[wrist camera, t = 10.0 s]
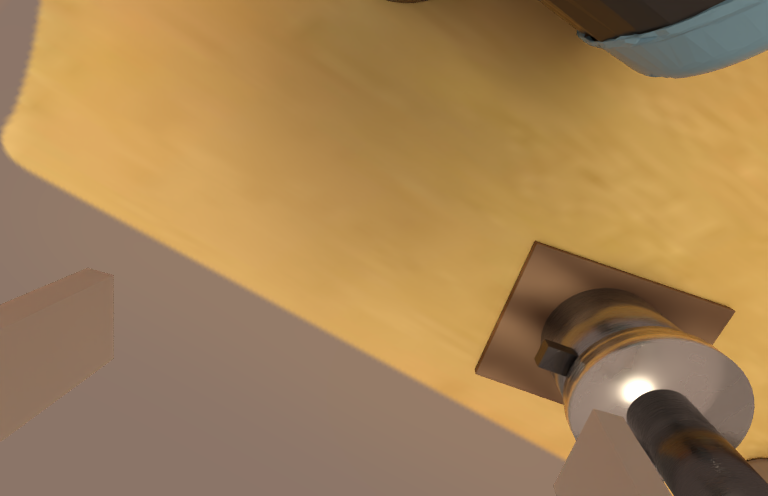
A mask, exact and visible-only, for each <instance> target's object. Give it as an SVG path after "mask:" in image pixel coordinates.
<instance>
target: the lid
mask: <svg viewBox="0 0 768 496" xmlns="http://www.w3.org/2000/svg"><path fill="white" fill-rule="evenodd" d="M564 409H565V415H566V419H567V421H568V424H569V426H570V429H571V431H572V433H573V435H574V437H575V439H576V441H577V439H578V437H579V435H580V433H581V431H582V429H583V427H584V425H585V423H586V421H587V419H588V417H589V415H590V413H591V411H592V409H596V410H600V411H604V412H607V413H611V414H614V415H618V416H622V417H623V418H624V420H625V421H626V423H627V424H628V426H629V428H630V429H631V431H632V432H633V434H634V436H635V437H636V439H637V440H638V442H639V444H640V445H641V447H642V448H643V450H644V452H645V453H646V455H647V456H648V458H649V460H650V461H651V463H652V464H653V466H654V468H655V469H656V471H657V472H658V474H659V476H660V477H661V479H662V480H663V481H665V483H666V484H667V486H668V487H669V489H670V490H671V492H672V493H673V495H674V496H768V483H767V482H766V481H765V480H764V479H763V478H762V477H761V476H760V475H759V474H758V473H757V472H756V471H755V470H754V469H753V467H752V466H751V465H750V464H749V463H748V462H747V461H746V460H745V459H744V458H743V457H742V456H741V455H740V454H739V453H738V452H737V450H736V447H737V446H738V445H739V444H740V443H741V441H742V440H743V439H744V437H745V436H746V434H747V432H748V430H749V428H750V425H751V422H752V419H753V414H754V396H753V391H752V388H751V385H750V383H749V381H748V379H747V377H746V376H745V374H744V373H743V371H742V370H741V369H740V368H739V367H738V366H737V365H736V363H734V362H733V361H732V360H730V359H729V358H728V357H727V356H725V355H724V354H723V353H722V352H720V351H719V350H718V349H716V348H715V347H714V346H713V345H711V344H710V343H708V342H706V341H704V340H703V339H701V338H698V337H696V336H694V335H691V334H687V333H684V332H680V331H673V330H661V329H655V330H643V331H637V332H632V333H629V334H625V335H622V336H619V337H617V338H614V339H612V340H610V341H608V342H606V343H604V344H603V345H601V346H599V347H598V348H596V349H595V350H594V351H592V352H591V353H590V354H589V355H588V356H586V357H585V358H584V359H583V360H582V362H581V363H580V364H579V365H578V366H577V368H576V369H575V371H574V372H573V374H572V375H571V378H570V380H569V382H568V384H567V388H566V391H565V397H564Z"/></svg>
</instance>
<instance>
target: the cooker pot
mask: <svg viewBox="0 0 768 496" xmlns="http://www.w3.org/2000/svg"><path fill="white" fill-rule="evenodd" d="M655 329H661V330H673V331H680V332H683V331H681V330H680V329H679V328H678V327H677V326H675V325H674V324H673V323H672V322H670V321H669V320H668V319H667V318H665V317H664V316H663V315H662V314H661V313H659V312H658V311H657V310H656V309H654V308H653V307H652V306H651V305H649V304H648V303H647V302H646V301H644V300H643V299H642V298H640V297H639V296H637V295H635V294H633V293H630V292H628V291H625V290H621V289H615V288H597V289H591V290H587V291H584V292H580V293H578V294H576V295H574V296H572V297H570V298H568V299H566V300H565V301H564V302H562V303H561V304H560V305H559V306H558V307H557V308H556V309H554V311H553V312H552V313H551V314H550V316H549V317H548V319H547V321H546V322H545V325H544V327H543V330H542V334H541V346H540V348H539V350H538V352H537V354H536V356H535V358H534V359H535V362H536V364H537V366H538V367H539V368H542V369H545V370H548V371H550V373H551V375H552V377H553V379H554V381H555V383H556V385H557V387H558V389H559V391H560V393H561V395H562V397H563V403H564V397H565V391H566V388H567V384H568V382H569V380H570V378H571V375H572V374H573V372H574V371H575V369H576V368H577V366H578V365H579V364H580V363H581V362H582V360H583V359H584V358H585V357H586V356H588V355H589V354H590V353H591V352H592V351H594V350H595V349H596V348H598V347H599V346H601V345H603V344H604V343H606V342H608V341H610V340H612V339H614V338H617V337H619V336H622V335H625V334H629V333H632V332H637V331H643V330H655ZM684 333H685V332H684ZM687 334H688V333H687Z"/></svg>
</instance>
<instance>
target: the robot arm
mask: <svg viewBox="0 0 768 496" xmlns="http://www.w3.org/2000/svg"><path fill="white" fill-rule="evenodd" d="M388 1H392V2H400V3H414V2H422V1H426V0H388ZM539 1H540V2H541V3H543V4H544V5H545V6H547V7H548V8H549V9H551V10H552V11H553V12H554V13H556V14H557V15H558V16H560V17H561V18H562V19H564V20H565V21H566V22H567V23H569V24H570V25H571V26H573V27H574V28H575V29H577V35H578V37H579V38H580V39H582V40H583V41H584V42H585V43H587V44H588V45H591V46H595V47H598V48H603V49H604V50H606V51H607V52H608V53H610V54H611V55H613V56H614V57H616V58H617V59H619V60H620V61H622V62H623V63H624V64H626V65H627V66H629V67H630V68H632V69H633V70H635V71H637V72H639V73H641V74H644V75H647V76H650V77H665V78H669V77H671V78H685V77H691V76H696V75H700V74H705V73H709V72H712V71H716V70H719V69H722V68H725V67H728V66H731V65H733V64H736V63H739V62H741V61H744V60H746V59H749V58H751V57H753V56H756V55H758V54H760V53H762V52H764V51H766V50H768V0H539ZM113 276H114V275H111V274H108V273H104V272H100V271H97V270H93V269H90V268H86V269H83V270H81V271H79V272H76V273H74V274H71V275H69V276H67V277H64V278H62V279H60V280H57V281H55V282H53V283H50V284H48V285H45V286H43V287H41V288H38V289H36V290H34V291H31V292H29V293H26V294H24V295H22V296H19V297H17V298H15V299H13V300H10V301H7V302H5V303H3V304H0V442H1V441H3V440H4V439H5V438H7V437H8V436H9V435H11V434H12V433H13V432H15V431H16V430H18V429H19V428H20V427H22V426H23V425H24V424H26V423H27V422H28V421H30V420H31V419H32V418H34V417H35V416H37V415H38V414H39V413H41V412H42V411H43V410H45V409H46V408H47V407H49V406H50V405H51V404H53V403H54V402H56V401H57V400H58V399H60V398H61V397H62V396H64V395H65V394H66V393H68V392H69V391H70V390H72V389H73V388H74V387H76V386H77V385H78V384H80V383H81V382H83V381H84V380H85V379H87V378H88V377H90V376H91V375H92V374H94V373H95V372H96V371H98V370H99V369H100V368H102V367H103V366H104V365H106V364H107V363H109V362H110V361H111V360H113V356H114V348H113V347H114V345H113V344H114V342H113V341H114V340H113V339H114V338H113V337H114V335H113V334H114V330H113V329H114V327H113V326H114V325H113V324H114V323H113V322H114V317H113V314H114V305H113V304H114V302H113V301H114V293H113V292H114V291H113V288H114V285H113V284H114V283H113V282H114V279H113V278H114V277H113ZM553 487H554V490H555V493H556V496H672V495H671V493H670V492H669V490H668V488H667V487H666V485H665V484H664V482H663V480H662V479H661V477H660V476H659V474H658V472H657V471H656V469H655V468H654V466H653V464H652V463H651V461H650V460H649V458H648V456H647V455H646V453H645V452H644V450H643V448H642V447H641V445H640V444H639V442H638V440H637V439H636V437H635V436H634V434H633V432H632V431H631V429H630V428H629V426H628V424H627V423H626V421H625V420H624V418H623V417H622V416H618V415H614V414H611V413H607V412H604V411H600V410H596V409H592V411H591V413H590V415H589V417H588V419H587V421H586V423H585V425H584V427H583V429H582V431H581V433H580V435H579V437H578V439H577V441H576V443H575V445H574V446H573V448H572V450H571V452H570V454H569V456H568V458H567V460H566V462H565V464H564V466H563V468H562V470H561V472H560V474H559V476H558V478H557V480H556V482H555V483H554V485H553Z"/></svg>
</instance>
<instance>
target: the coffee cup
mask: <svg viewBox="0 0 768 496" xmlns="http://www.w3.org/2000/svg"><path fill="white" fill-rule="evenodd" d="M747 462H748V463H749V464H750V465H751V466H752V467H753V469H754V470H755V471H756V472H757V473H758V474H759V475H760V476H761V477H762V478H763V479H764V480H765V481H766V482H767V483H768V459H755V460H750V461H747Z"/></svg>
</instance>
